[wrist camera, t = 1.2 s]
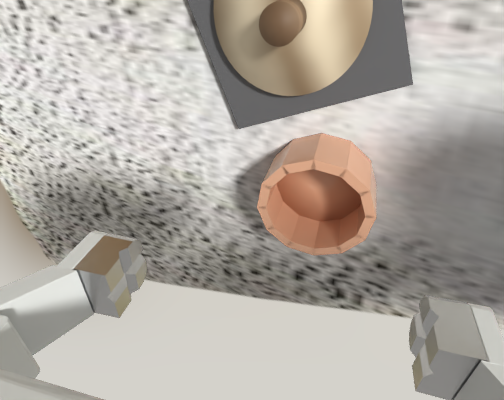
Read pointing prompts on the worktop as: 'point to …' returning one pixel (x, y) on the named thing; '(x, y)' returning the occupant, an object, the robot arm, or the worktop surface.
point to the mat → (343, 89)
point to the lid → (292, 40)
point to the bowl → (319, 195)
